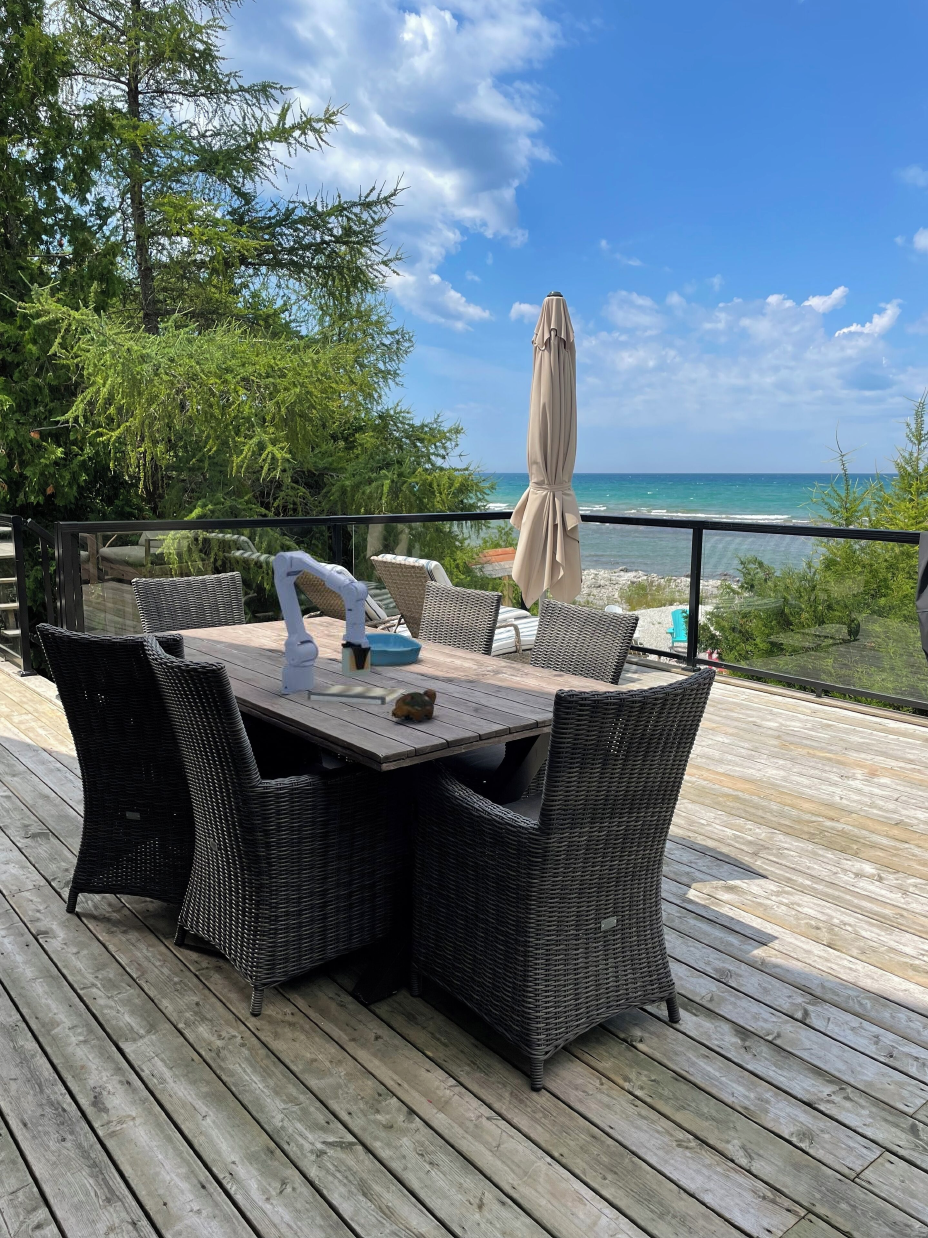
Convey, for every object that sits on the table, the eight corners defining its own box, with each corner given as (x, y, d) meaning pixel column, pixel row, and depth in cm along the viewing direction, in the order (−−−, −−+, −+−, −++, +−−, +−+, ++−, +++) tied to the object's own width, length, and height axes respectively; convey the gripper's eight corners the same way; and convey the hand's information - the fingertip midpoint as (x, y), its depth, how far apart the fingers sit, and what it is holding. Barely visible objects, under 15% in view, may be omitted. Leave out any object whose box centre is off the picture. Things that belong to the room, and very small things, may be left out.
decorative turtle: (446, 717, 253) (446, 690, 251) (408, 731, 242) (407, 703, 241) (421, 709, 260) (421, 683, 258) (383, 723, 249) (382, 695, 247)
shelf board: (310, 703, 269) (310, 698, 269) (334, 690, 286) (334, 685, 286) (386, 708, 263) (386, 703, 263) (406, 694, 280) (406, 689, 280)
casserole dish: (429, 665, 327) (429, 646, 326) (370, 670, 319) (370, 650, 318) (397, 648, 361) (397, 631, 360) (342, 652, 352) (342, 634, 351)
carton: (342, 674, 272) (341, 648, 271) (363, 672, 276) (362, 646, 275) (349, 677, 268) (348, 651, 266) (370, 675, 271) (370, 649, 270)
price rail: (307, 704, 268) (307, 692, 267) (309, 703, 269) (309, 691, 268) (384, 709, 261) (384, 697, 261) (385, 708, 263) (385, 696, 262)
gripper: (333, 620, 274) (334, 665, 276) (353, 627, 261) (353, 673, 263) (354, 619, 277) (355, 662, 279) (375, 625, 265) (375, 671, 267)
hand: (356, 667), depth 271 cm, fingers closed on carton, 5 cm apart
